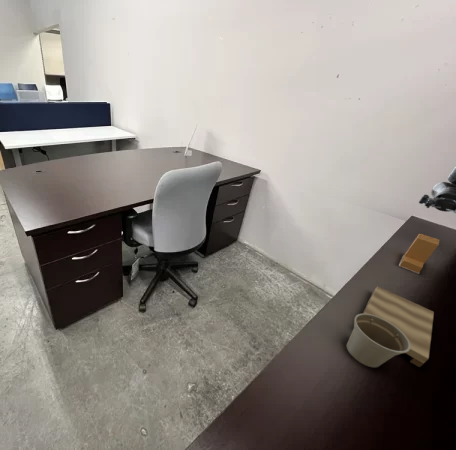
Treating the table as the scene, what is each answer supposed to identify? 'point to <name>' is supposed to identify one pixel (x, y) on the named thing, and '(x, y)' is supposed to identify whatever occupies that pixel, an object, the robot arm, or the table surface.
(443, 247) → the table surface
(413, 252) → the orange block
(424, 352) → the wooden board
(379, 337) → the flower pot
